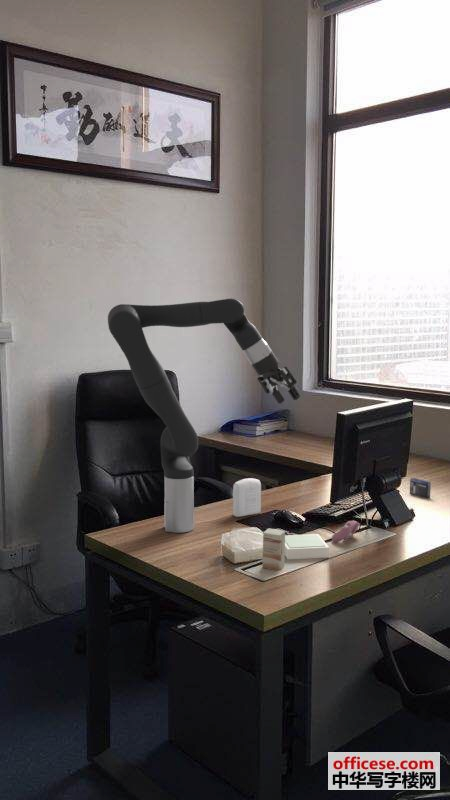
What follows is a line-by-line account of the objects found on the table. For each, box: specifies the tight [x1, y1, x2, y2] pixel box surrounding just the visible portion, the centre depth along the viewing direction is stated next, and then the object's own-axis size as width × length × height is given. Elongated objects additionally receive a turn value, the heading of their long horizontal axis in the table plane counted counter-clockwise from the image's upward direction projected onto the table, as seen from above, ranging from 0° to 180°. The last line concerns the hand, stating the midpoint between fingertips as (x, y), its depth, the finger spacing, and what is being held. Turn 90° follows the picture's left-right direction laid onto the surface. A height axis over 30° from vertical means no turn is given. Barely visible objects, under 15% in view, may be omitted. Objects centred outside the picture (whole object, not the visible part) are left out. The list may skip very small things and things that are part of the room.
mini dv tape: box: [409, 477, 432, 499], centre depth 270 cm, size 8×2×6 cm, turn 37°
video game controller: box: [331, 519, 361, 543], centre depth 221 cm, size 10×5×7 cm, turn 148°
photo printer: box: [232, 477, 262, 518], centre depth 246 cm, size 10×4×12 cm, turn 123°
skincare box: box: [261, 527, 286, 571], centre depth 197 cm, size 5×4×10 cm
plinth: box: [284, 533, 330, 560], centre depth 210 cm, size 12×12×3 cm
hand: (289, 400), depth 220 cm, fingers open, 8 cm apart
